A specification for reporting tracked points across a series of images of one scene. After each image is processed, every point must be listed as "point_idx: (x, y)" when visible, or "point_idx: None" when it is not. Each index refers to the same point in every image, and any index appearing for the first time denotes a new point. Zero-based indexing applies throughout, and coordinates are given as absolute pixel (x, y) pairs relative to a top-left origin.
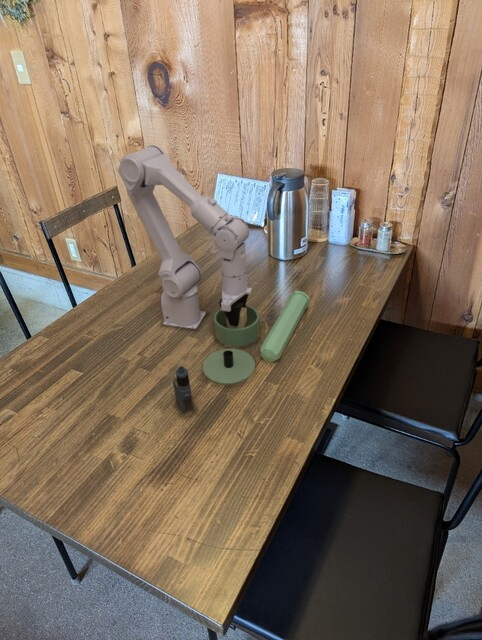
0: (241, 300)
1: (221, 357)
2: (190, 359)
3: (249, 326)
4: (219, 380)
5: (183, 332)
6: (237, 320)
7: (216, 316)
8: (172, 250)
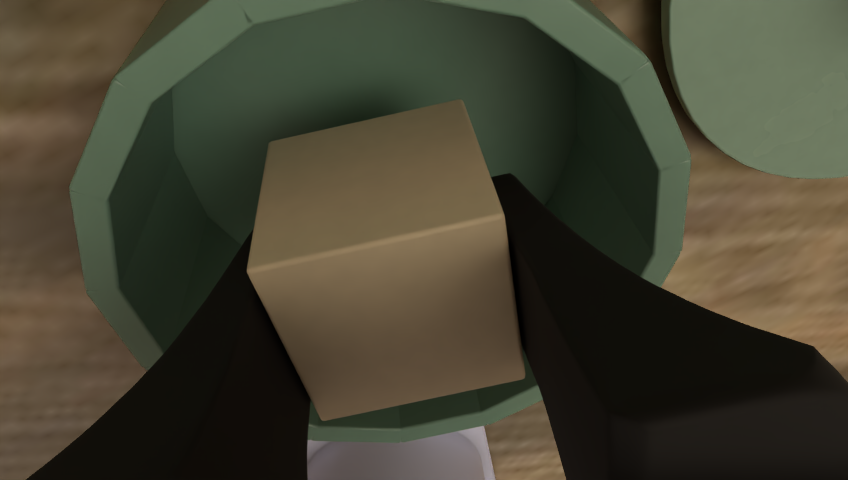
0: (252, 427)
1: (819, 75)
2: (785, 259)
3: (550, 12)
4: None
5: (519, 418)
6: (556, 221)
7: (472, 406)
8: None
